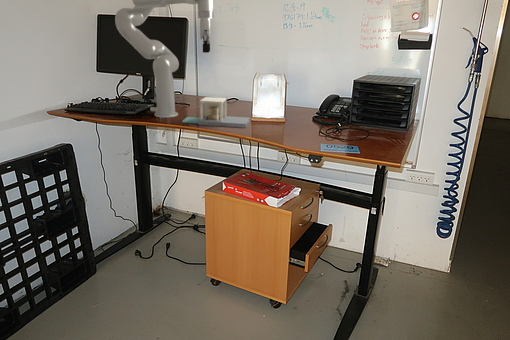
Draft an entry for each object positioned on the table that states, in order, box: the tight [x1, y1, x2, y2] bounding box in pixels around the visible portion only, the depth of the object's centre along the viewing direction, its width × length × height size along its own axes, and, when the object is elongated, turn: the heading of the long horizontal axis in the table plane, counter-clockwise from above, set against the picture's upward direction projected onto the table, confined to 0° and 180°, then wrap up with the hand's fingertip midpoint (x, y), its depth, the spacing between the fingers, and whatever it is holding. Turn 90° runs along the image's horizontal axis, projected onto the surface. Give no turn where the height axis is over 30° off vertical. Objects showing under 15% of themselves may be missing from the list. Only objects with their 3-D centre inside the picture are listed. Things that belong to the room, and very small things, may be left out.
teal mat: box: [181, 116, 201, 125], centre depth 198 cm, size 9×9×1 cm
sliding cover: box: [199, 96, 227, 121], centre depth 194 cm, size 11×10×10 cm
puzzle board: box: [198, 115, 251, 129], centre depth 195 cm, size 24×14×2 cm, turn 82°
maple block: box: [208, 106, 219, 121], centre depth 195 cm, size 4×4×8 cm
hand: (206, 51), depth 193 cm, fingers open, 9 cm apart
